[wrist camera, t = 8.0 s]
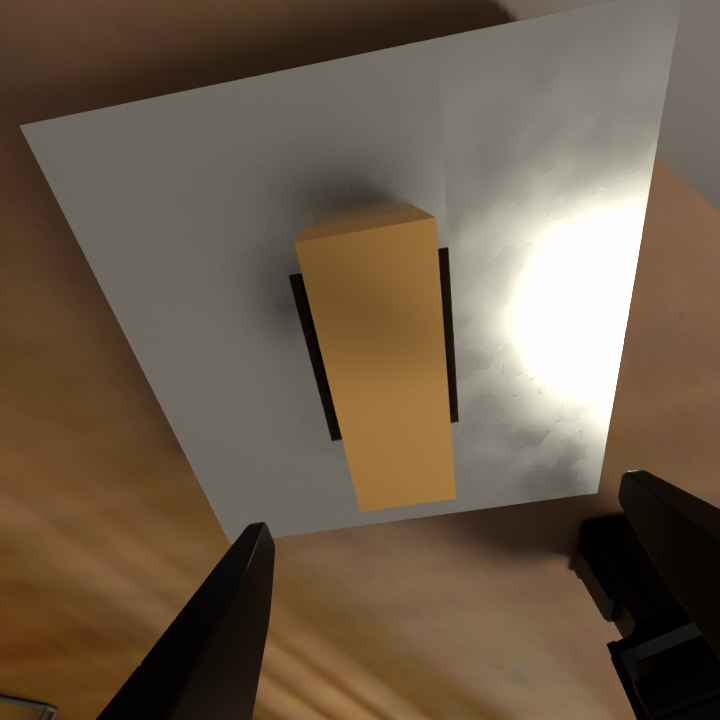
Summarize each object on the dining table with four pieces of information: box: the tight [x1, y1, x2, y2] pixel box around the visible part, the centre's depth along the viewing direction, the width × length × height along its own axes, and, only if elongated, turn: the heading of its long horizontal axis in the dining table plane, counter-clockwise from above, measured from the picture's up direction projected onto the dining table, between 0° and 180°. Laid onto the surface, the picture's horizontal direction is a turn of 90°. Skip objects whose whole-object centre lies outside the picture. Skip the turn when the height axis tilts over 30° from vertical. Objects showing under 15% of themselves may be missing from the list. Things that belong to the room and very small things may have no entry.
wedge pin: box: [294, 208, 456, 512], centre depth 16 cm, size 4×11×7 cm, turn 10°
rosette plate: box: [20, 0, 682, 544], centre depth 18 cm, size 20×20×5 cm
